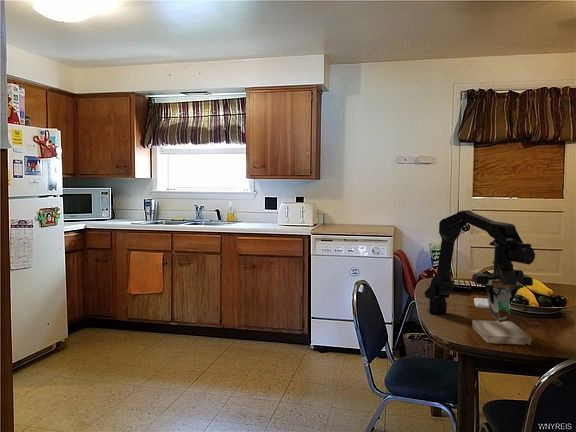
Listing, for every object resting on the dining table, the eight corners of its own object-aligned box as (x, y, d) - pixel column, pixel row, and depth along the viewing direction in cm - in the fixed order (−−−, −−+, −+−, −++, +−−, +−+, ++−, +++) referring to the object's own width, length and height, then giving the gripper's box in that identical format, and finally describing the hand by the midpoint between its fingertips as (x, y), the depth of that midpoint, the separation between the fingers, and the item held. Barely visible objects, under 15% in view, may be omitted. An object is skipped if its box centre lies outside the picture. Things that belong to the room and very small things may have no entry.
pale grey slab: (487, 344, 159) (487, 335, 159) (471, 328, 177) (472, 320, 177) (530, 346, 158) (531, 337, 157) (510, 329, 176) (511, 321, 175)
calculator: (473, 301, 217) (473, 296, 217) (521, 304, 211) (521, 300, 211) (475, 308, 204) (475, 304, 204) (526, 312, 198) (527, 308, 198)
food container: (519, 322, 161) (517, 293, 160) (500, 323, 161) (498, 295, 160) (505, 310, 173) (503, 283, 172) (488, 312, 174) (486, 285, 172)
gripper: (482, 263, 158) (480, 309, 159) (541, 264, 156) (538, 311, 158) (472, 257, 169) (470, 300, 170) (527, 258, 168) (525, 302, 169)
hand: (500, 303), depth 167 cm, fingers closed on food container, 6 cm apart
